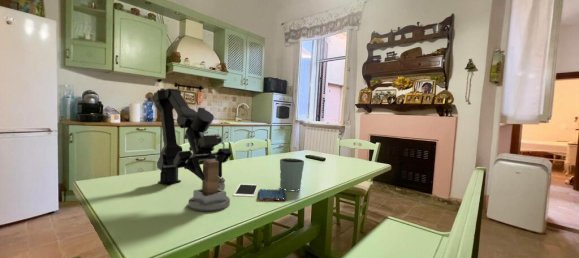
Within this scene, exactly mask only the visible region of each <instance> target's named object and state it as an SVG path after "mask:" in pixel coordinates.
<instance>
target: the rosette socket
mask: <svg viewBox="0 0 579 258" xmlns="http://www.w3.org/2000/svg"><path fill="white" fill-rule="evenodd" d="M192 193H193V194H192V195H193V197H190V198H189V199H188V204H187V205H188V208H189V209H190V210H191V211H195V212H197V213H198V212H199V213H212V212H214V213H215V212H219V211H222V209H223V210H225V209H227V208H229V206H230V205H231V204H230V200H231V199H230V197H229V196H227V191H225V190H224V189H223V190H221V189H219V188H218V193H213V194H208V195H206V194H204V193H202V188H200V189H199V188H198V189H194V190H193V192H192Z"/></svg>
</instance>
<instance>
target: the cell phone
mask: <svg viewBox="0 0 579 258" xmlns="http://www.w3.org/2000/svg"><path fill="white" fill-rule="evenodd" d="M258 187H259V184H254V183H253V184H252V183H239V185H238V187H237V188H236V189H235V191H234V193H233V194H232V197H247V198H255V195H256V193H257V190H258ZM255 192H256V193H255Z"/></svg>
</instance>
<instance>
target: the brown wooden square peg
mask: <svg viewBox="0 0 579 258" xmlns="http://www.w3.org/2000/svg"><path fill="white" fill-rule="evenodd" d="M218 170H219V161H216V160H212V159H210V160H202V172H203V174H204V178H205V179H204V180H203V181H202V180H201V181H202V184H201V187H202V188H201V189H202V193H204V194H206V195H208V194H213V193H218V185H219V184H218V177H219V176H218Z"/></svg>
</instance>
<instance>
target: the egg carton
mask: <svg viewBox="0 0 579 258" xmlns="http://www.w3.org/2000/svg"><path fill="white" fill-rule="evenodd" d="M225 182H226V179H225V177H223V176H222V177H221V178H220V177H219V176H218V188H219V189H221V190H223V191H224V190H225V187H226V185H225Z"/></svg>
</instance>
